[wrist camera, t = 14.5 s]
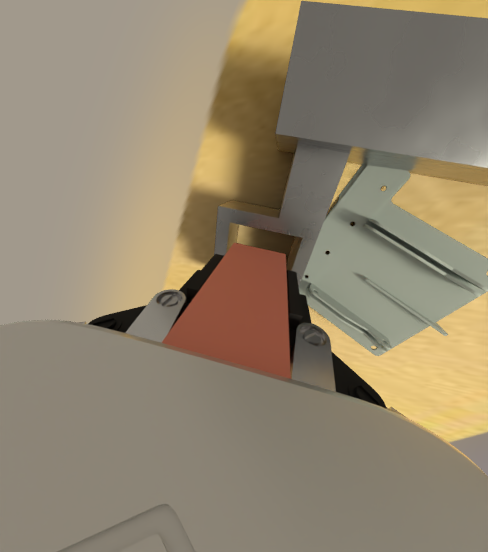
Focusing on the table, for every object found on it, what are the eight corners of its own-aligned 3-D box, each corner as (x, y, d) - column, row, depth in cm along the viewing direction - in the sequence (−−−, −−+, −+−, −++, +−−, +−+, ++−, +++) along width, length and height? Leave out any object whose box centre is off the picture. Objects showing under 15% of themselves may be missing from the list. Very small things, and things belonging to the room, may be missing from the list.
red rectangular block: (272, 296, 13) (255, 512, 5) (228, 285, 14) (136, 470, 5) (285, 254, 11) (295, 481, 3) (233, 242, 12) (106, 419, 3)
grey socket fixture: (462, 326, 18) (535, 386, 13) (223, 270, 20) (203, 302, 15) (680, 130, 10) (1111, 77, 5) (246, 72, 12) (219, -7, 7)
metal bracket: (609, 267, 9) (371, 386, 17) (512, 247, 14) (362, 346, 22) (363, 137, 12) (252, 293, 19) (354, 159, 16) (269, 276, 24)
